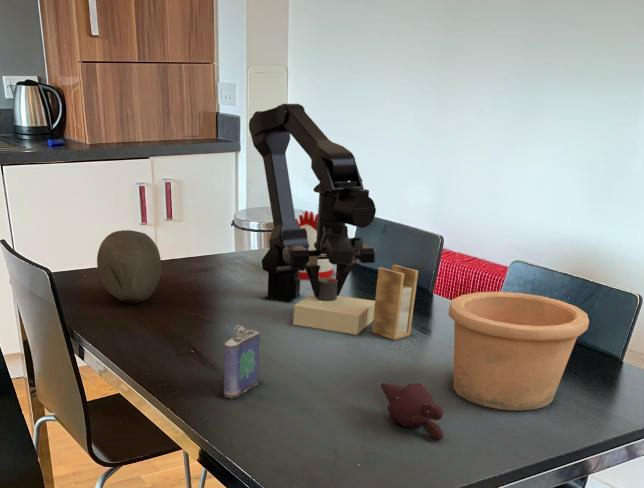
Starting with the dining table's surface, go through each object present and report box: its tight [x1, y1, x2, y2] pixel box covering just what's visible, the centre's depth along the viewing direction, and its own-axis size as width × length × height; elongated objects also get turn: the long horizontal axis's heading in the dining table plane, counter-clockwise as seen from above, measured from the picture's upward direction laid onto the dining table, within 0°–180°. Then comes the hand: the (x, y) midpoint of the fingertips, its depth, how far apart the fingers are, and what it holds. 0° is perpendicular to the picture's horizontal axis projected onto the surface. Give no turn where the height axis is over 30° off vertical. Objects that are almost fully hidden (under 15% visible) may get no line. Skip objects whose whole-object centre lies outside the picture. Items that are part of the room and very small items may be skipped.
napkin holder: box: [371, 264, 419, 341], centre depth 157 cm, size 6×5×13 cm
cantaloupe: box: [96, 229, 162, 305], centre depth 170 cm, size 14×14×15 cm
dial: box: [316, 277, 338, 301], centre depth 166 cm, size 4×4×4 cm
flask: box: [223, 324, 261, 399], centre depth 128 cm, size 9×3×11 cm, turn 151°
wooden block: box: [292, 293, 375, 336], centre depth 165 cm, size 14×13×4 cm
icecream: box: [379, 382, 445, 441], centre depth 119 cm, size 7×7×15 cm
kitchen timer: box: [295, 210, 334, 280], centre depth 198 cm, size 14×14×15 cm
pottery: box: [448, 291, 590, 412], centre depth 130 cm, size 22×22×14 cm
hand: (326, 295), depth 166 cm, fingers closed on dial, 4 cm apart
